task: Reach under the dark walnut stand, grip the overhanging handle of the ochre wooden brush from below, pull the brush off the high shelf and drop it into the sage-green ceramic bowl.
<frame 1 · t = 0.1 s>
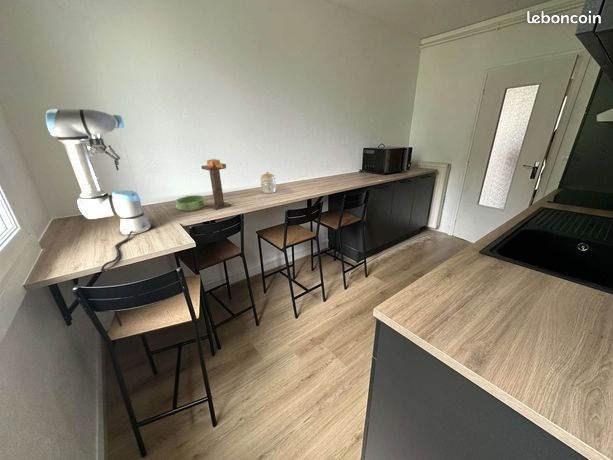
hand: (105, 171, 171), 28 cm above the worktop, tool pointing down, fingers open, 13 cm apart
stand: (219, 206, 189), on the worktop
bowl: (191, 206, 188), on the worktop
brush: (214, 165, 176), point 30 cm above the worktop, touching stand
jar: (268, 191, 226), on the worktop
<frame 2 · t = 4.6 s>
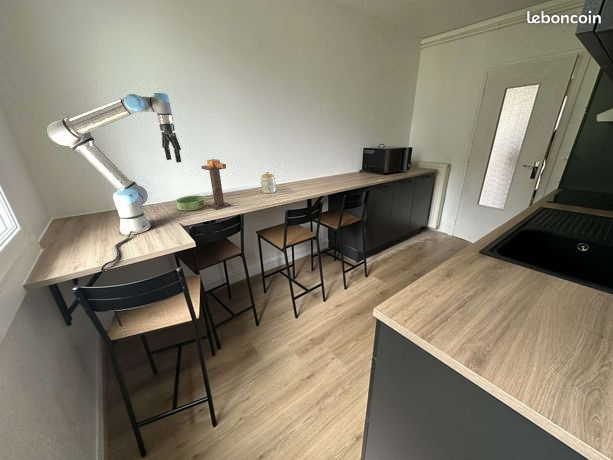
hand: (173, 161, 153), 37 cm above the worktop, tool pointing down, fingers open, 13 cm apart
nothing on the worktop moved.
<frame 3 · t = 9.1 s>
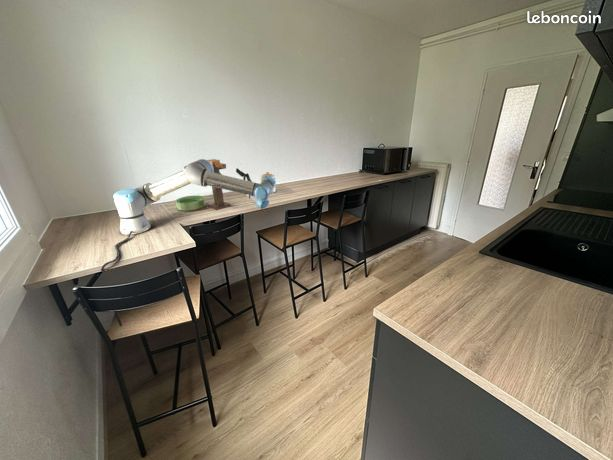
hand: (228, 172, 165), 28 cm above the worktop, tool pointing upward, fingers open, 13 cm apart
nothing on the worktop moved.
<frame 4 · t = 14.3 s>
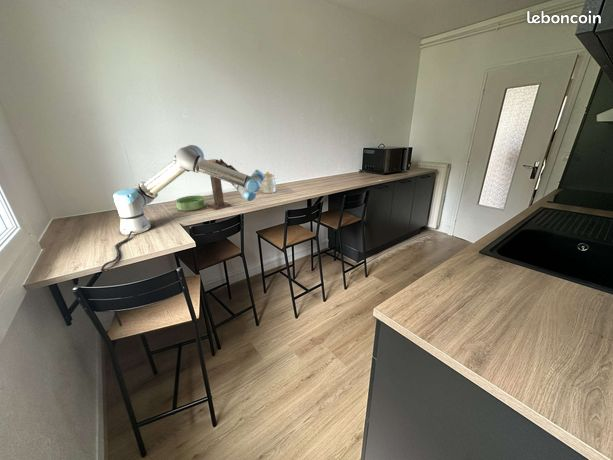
hand: (218, 161, 171), 34 cm above the worktop, tool pointing upward, fingers closed on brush, 2 cm apart
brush: (214, 165, 176), point 30 cm above the worktop, touching gripper, stand
everything else where it was.
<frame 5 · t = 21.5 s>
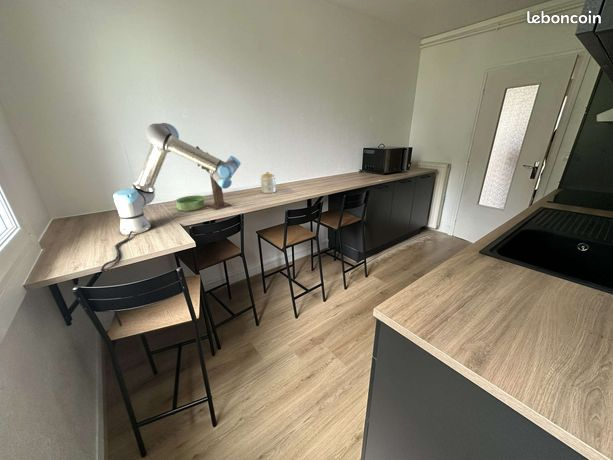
hand: (194, 148, 166), 43 cm above the worktop, tool pointing upward, fingers closed on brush, 2 cm apart
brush: (191, 153, 171), point 39 cm above the worktop, touching gripper
everything else where it was.
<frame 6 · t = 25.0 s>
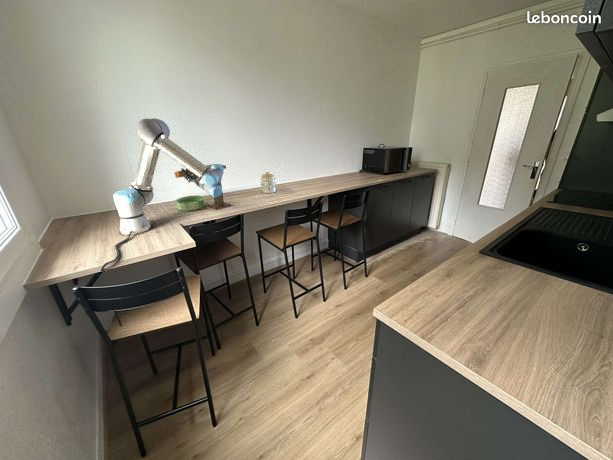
hand: (184, 169, 174), 28 cm above the worktop, tool pointing upward, fingers closed on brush, 2 cm apart
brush: (182, 176, 179), point 23 cm above the worktop, tilted 15°, touching gripper
everything else where it was.
when the fingers open (10 cm above the worktop, at t = 28.6 s): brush drops 1 cm, resting on bowl.
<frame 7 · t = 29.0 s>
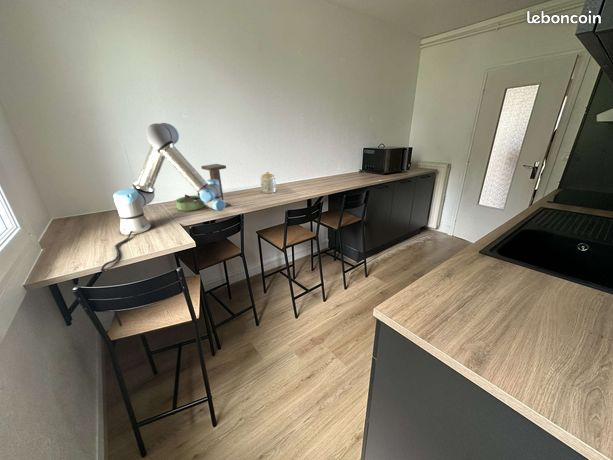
hand: (192, 195, 181), 10 cm above the worktop, tool horizontal, fingers open, 9 cm apart
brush: (191, 204, 187), point 2 cm above the worktop, tilted 24°, touching bowl
everything else where it was.
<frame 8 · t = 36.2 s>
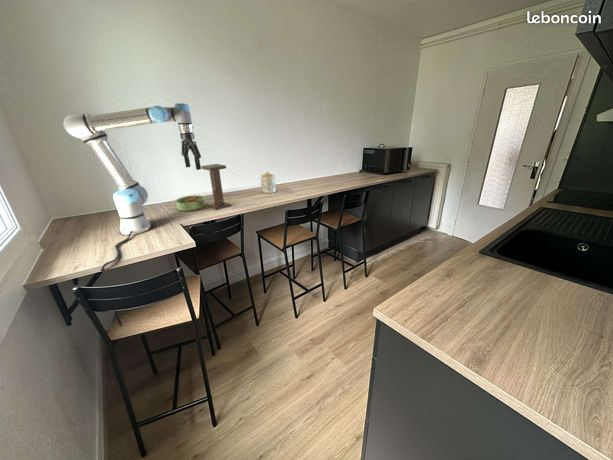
hand: (193, 168, 158), 32 cm above the worktop, tool pointing down, fingers open, 13 cm apart
nothing on the worktop moved.
at the end: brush 0.5 cm from the bowl (horizontally); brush point 2.2 cm above the worktop; the gripper is holding nothing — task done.
